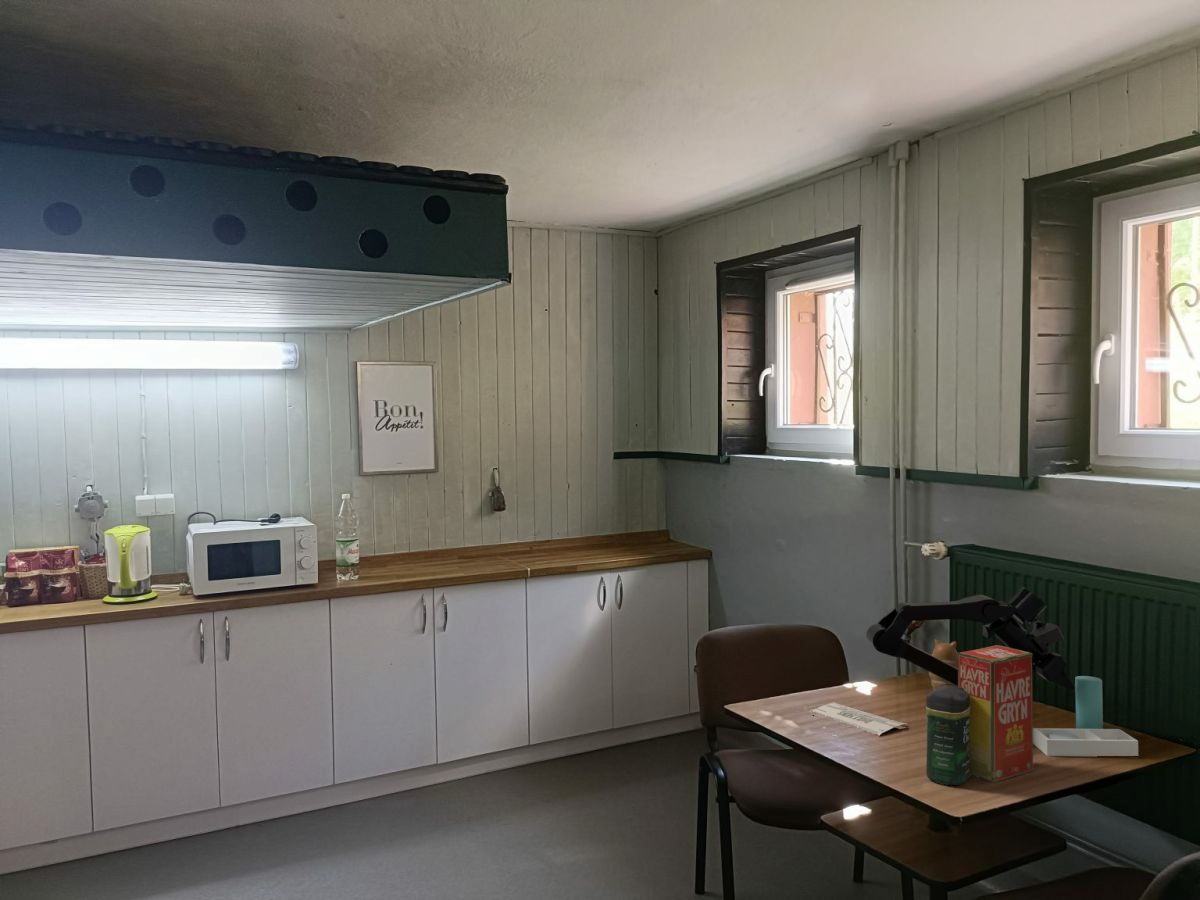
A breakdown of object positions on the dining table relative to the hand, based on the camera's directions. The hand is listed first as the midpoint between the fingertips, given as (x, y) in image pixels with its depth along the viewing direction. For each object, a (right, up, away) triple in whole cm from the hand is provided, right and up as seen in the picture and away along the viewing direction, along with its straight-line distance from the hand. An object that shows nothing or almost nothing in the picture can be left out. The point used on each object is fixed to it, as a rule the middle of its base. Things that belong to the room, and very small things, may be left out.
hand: (1064, 683), depth 206 cm
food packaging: (-26, -13, -21) cm, 36 cm away
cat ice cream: (-20, -12, +20) cm, 31 cm away
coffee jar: (-37, -13, -25) cm, 47 cm away
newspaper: (-45, -14, +14) cm, 49 cm away
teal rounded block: (+6, -12, 0) cm, 13 cm away
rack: (-1, -12, -11) cm, 16 cm away
